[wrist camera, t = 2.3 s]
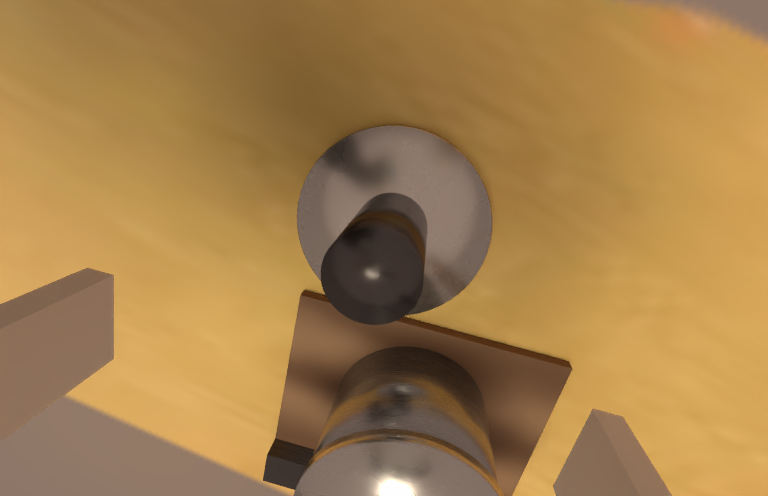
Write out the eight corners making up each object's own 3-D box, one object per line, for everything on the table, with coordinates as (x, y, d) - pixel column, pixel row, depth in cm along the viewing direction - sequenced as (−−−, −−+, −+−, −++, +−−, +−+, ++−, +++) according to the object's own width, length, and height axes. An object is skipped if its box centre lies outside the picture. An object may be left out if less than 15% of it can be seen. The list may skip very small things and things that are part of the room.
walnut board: (304, 290, 28) (300, 295, 27) (568, 361, 27) (572, 368, 26) (276, 447, 33) (272, 455, 32) (498, 511, 32) (499, 521, 31)
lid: (321, 104, 24) (252, 97, 15) (515, 152, 23) (565, 175, 14) (292, 279, 28) (224, 357, 19) (457, 323, 27) (467, 425, 18)
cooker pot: (295, 440, 31) (243, 560, 23) (319, 316, 27) (267, 405, 19) (488, 496, 31) (508, 641, 22) (542, 376, 27) (591, 497, 18)
